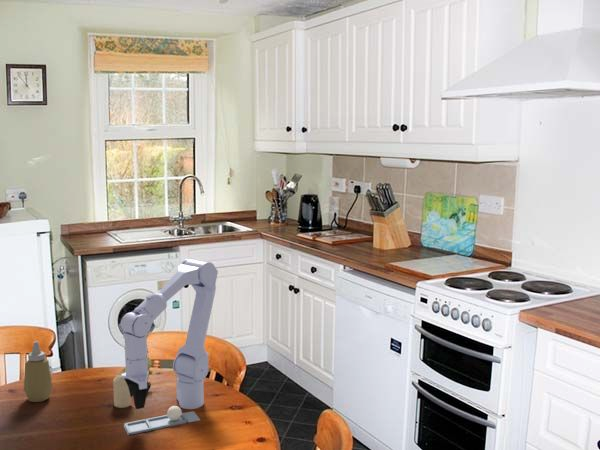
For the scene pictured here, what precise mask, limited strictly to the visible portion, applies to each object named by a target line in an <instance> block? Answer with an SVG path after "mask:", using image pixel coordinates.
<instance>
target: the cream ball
mask: <svg viewBox="0 0 600 450" xmlns="http://www.w3.org/2000/svg"><path fill="white" fill-rule="evenodd" d="M182 413H183V412H182V409H181V407H180V406H179V405H178V406H177V405H172V406H170V407H169V408H168V409H167V412H166V415H167V416H168V418H169V419H170V420H172V421H176V420H178V419H179V418H180V417H181V415H182Z"/></svg>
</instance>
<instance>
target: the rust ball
mask: <svg viewBox="0 0 600 450" xmlns="http://www.w3.org/2000/svg"><path fill="white" fill-rule="evenodd" d="M130 404H131V406H130V407H132V408H134V409H136V407H135V404H134V398H133V396H132V397H131V399H130Z"/></svg>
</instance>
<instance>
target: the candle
mask: <svg viewBox="0 0 600 450" xmlns="http://www.w3.org/2000/svg"><path fill="white" fill-rule="evenodd" d="M112 381H113V384H112V385H113V405H114V407H115V408H121V409H124V408H128V407H132V406H131V404H130V399H131V396H130V392H129V388H128V385H127V383H126V381H125V379H124V378H122V377H121V373H118V374H116V376H115V377H114V378H113V380H112Z"/></svg>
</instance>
